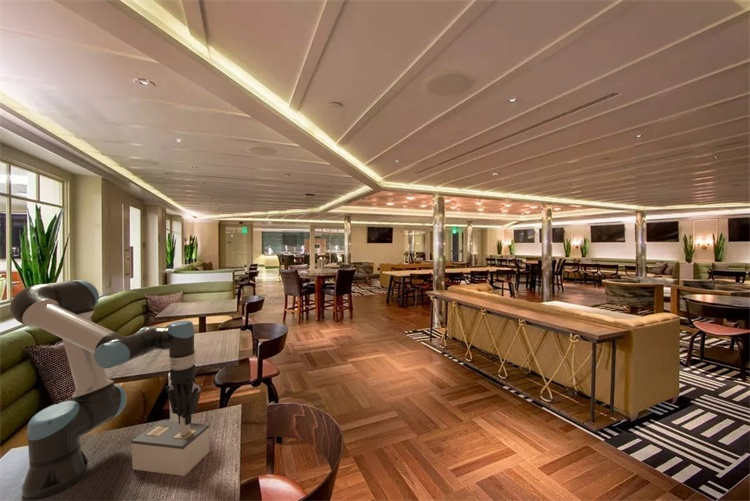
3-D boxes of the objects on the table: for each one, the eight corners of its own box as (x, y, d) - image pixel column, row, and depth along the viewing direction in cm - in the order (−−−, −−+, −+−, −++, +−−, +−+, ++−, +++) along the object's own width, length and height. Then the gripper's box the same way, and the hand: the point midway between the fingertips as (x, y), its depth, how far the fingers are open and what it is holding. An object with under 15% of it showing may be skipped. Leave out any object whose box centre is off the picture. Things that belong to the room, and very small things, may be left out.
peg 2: (174, 460, 107) (173, 437, 107) (185, 450, 112) (184, 428, 112) (186, 461, 106) (186, 438, 106) (197, 451, 111) (196, 429, 111)
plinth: (132, 469, 106) (131, 440, 105) (162, 446, 118) (161, 420, 117) (184, 476, 102) (183, 446, 102) (209, 451, 114) (208, 424, 114)
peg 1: (146, 457, 109) (145, 434, 109) (158, 447, 114) (158, 426, 113) (159, 458, 108) (158, 436, 108) (170, 448, 113) (169, 427, 113)
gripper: (157, 369, 105) (160, 438, 106) (191, 372, 103) (193, 441, 104) (175, 361, 113) (177, 425, 113) (207, 363, 110) (209, 428, 111)
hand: (185, 432), depth 109 cm, fingers closed
